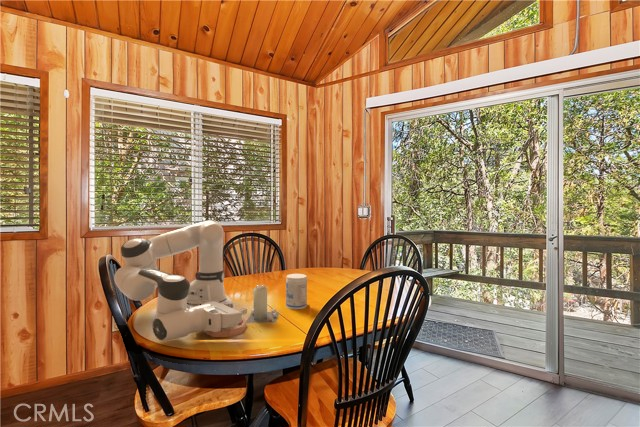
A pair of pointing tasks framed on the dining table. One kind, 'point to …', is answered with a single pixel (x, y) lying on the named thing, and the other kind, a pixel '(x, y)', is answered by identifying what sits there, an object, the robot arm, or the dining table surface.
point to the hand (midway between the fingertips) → (239, 307)
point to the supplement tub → (296, 291)
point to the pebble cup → (260, 302)
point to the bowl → (229, 332)
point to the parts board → (271, 317)
